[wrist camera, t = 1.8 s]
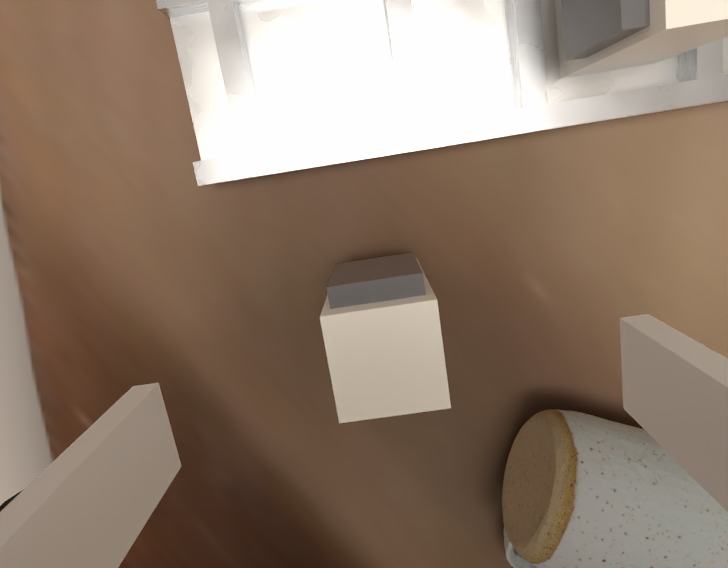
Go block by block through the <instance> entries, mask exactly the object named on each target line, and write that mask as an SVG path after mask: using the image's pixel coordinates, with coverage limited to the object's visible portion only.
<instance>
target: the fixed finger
mask: <svg viewBox="0 0 728 568" xmlns="http://www.w3.org/2000/svg"><path fill="white" fill-rule="evenodd" d="M555 7H556V22H557V38H558V53H559V68H560V79H563V78H569V77H575V76H581V75H587V74H593V73H599V72H605V71H611V70H617V69H623V68H629V67H635V66H641V65H647V64H653V63H657V62H660V61H662V60H665V59H668V58H671V57H673V56H676V55H679V54H681V53H684V52H687V51H690V50H692V49H695V48H698V47H701V46H703V45H706V44H709V43H711V42H714V41H717V40H720V39H722V38H725V37H728V0H555Z"/></svg>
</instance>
